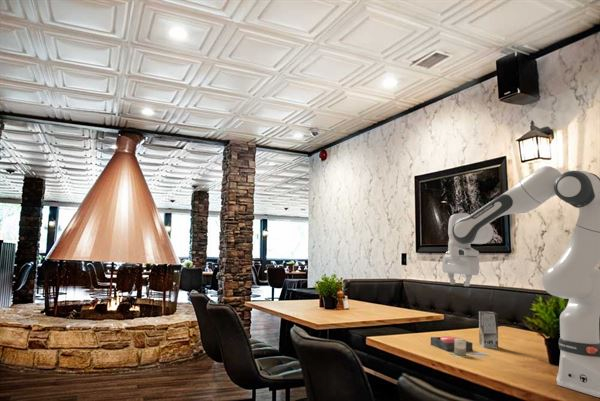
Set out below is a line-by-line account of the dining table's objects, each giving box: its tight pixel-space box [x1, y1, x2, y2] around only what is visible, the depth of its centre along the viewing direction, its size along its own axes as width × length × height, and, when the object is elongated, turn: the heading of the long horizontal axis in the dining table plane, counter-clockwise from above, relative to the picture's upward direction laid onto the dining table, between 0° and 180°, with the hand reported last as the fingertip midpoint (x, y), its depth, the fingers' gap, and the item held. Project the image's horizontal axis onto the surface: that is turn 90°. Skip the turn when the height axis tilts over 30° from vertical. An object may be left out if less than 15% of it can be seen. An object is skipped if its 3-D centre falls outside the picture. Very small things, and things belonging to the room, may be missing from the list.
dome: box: [439, 335, 462, 343], centre depth 183 cm, size 9×9×4 cm
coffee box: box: [478, 310, 499, 350], centre depth 191 cm, size 9×6×16 cm
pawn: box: [454, 338, 467, 356], centre depth 170 cm, size 4×4×6 cm
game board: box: [430, 336, 490, 358], centre depth 177 cm, size 24×16×4 cm, turn 15°
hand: (459, 285), depth 173 cm, fingers open, 8 cm apart
